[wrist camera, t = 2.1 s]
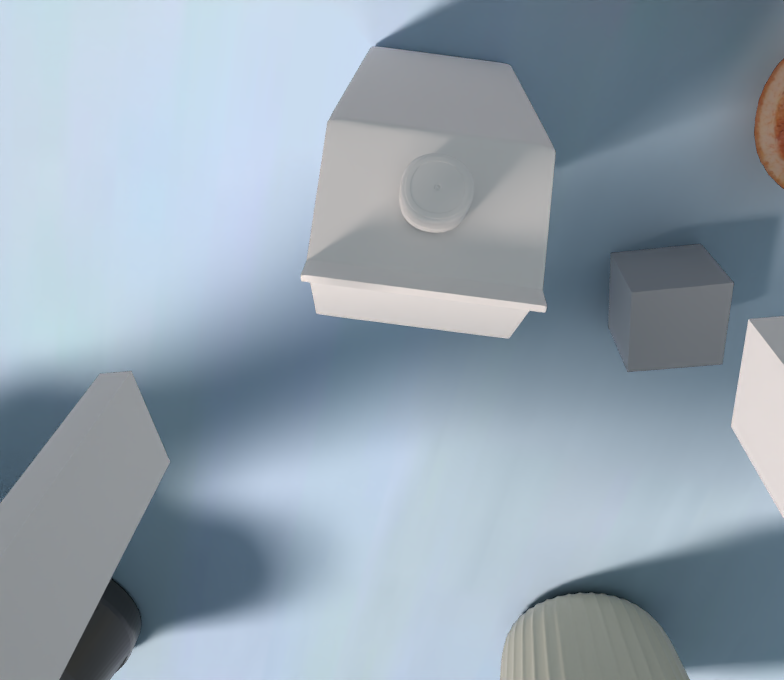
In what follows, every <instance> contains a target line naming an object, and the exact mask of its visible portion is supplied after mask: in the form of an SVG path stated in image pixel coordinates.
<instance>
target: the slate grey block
mask: <svg viewBox="0 0 784 680" xmlns="http://www.w3.org/2000/svg"><path fill="white" fill-rule="evenodd" d="M733 286H734V282H733V281H732V280H731V279H730V277H729V276H728V275H727V274H726V273H725V272H724V270H723V269H722V268H721V267H720V266H719V264H718V263H717V262H716V261H715V260H714V259H713V257H712V256H711V255H710V254H709V253H708V251H707V250H706V249H705V248H704V247H703V246H702V244H693V245H683V246H674V247H664V248H654V249H644V250H635V251H625V252H615V253H611V255H610V285H609V315H608V328H609V330H610V332H611V335H612V337H613V339H614V341H615V344H616V346H617V348H618V351H619V353H620V355H621V358H622V360H623V362H624V365H625V367H626V369H627V372H633V371H646V370H658V369H670V368H683V367H695V366H707V365H720V364H722V363H723V356H724V349H725V342H726V335H727V328H728V321H729V314H730V307H731V300H732V293H733Z"/></svg>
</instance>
